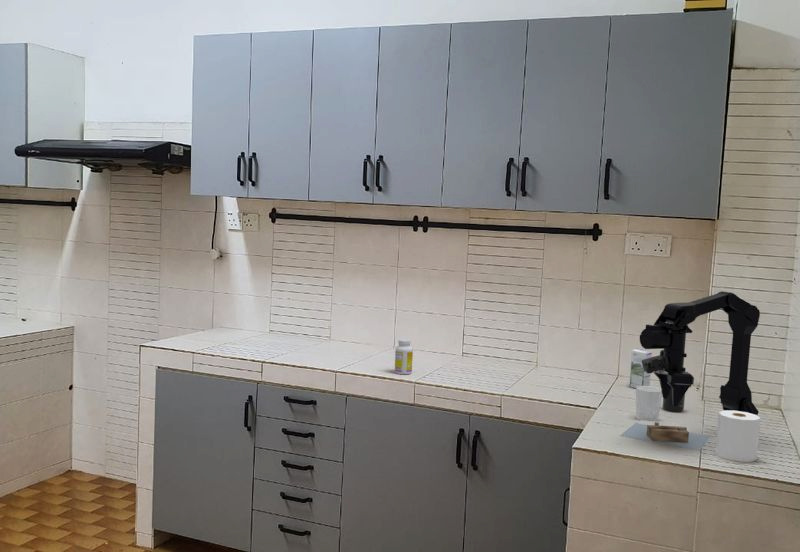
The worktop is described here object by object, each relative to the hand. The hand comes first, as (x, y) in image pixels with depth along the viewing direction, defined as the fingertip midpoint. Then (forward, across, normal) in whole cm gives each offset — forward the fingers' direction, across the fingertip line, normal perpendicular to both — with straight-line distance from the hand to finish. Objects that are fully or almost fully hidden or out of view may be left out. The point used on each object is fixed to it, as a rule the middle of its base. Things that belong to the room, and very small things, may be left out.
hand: (669, 402), depth 226 cm
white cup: (+12, -24, +1) cm, 27 cm away
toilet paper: (+12, +13, +14) cm, 23 cm away
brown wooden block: (+11, 0, 0) cm, 11 cm away
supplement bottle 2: (+12, -39, +14) cm, 43 cm away
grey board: (+12, -3, +1) cm, 12 cm away
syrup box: (+12, -71, +12) cm, 73 cm away
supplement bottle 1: (+12, -77, -77) cm, 109 cm away
